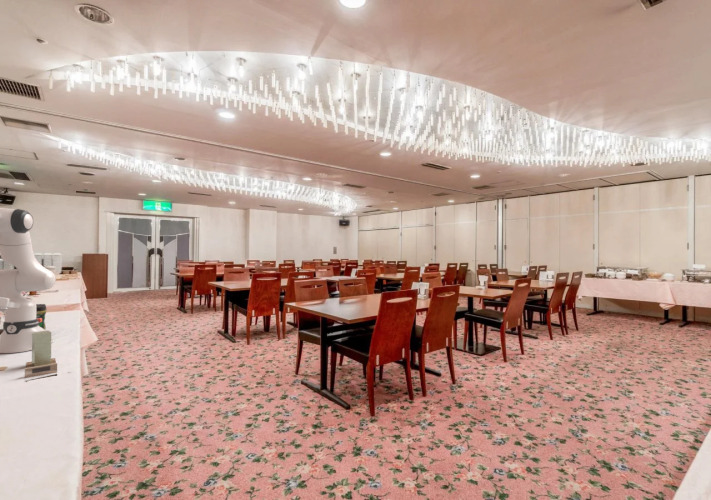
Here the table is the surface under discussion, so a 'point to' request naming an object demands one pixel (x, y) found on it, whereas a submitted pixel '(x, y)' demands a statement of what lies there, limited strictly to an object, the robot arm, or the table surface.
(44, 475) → the table surface
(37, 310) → the coffee jar
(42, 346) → the tea tin
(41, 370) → the shelf board
